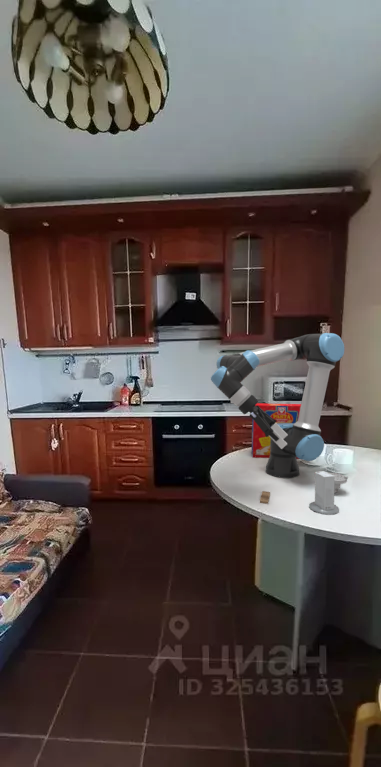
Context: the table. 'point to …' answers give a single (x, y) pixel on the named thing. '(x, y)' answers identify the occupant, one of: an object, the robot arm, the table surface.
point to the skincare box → (324, 490)
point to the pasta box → (278, 413)
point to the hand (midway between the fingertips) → (284, 441)
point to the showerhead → (338, 480)
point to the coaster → (320, 510)
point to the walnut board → (265, 497)
